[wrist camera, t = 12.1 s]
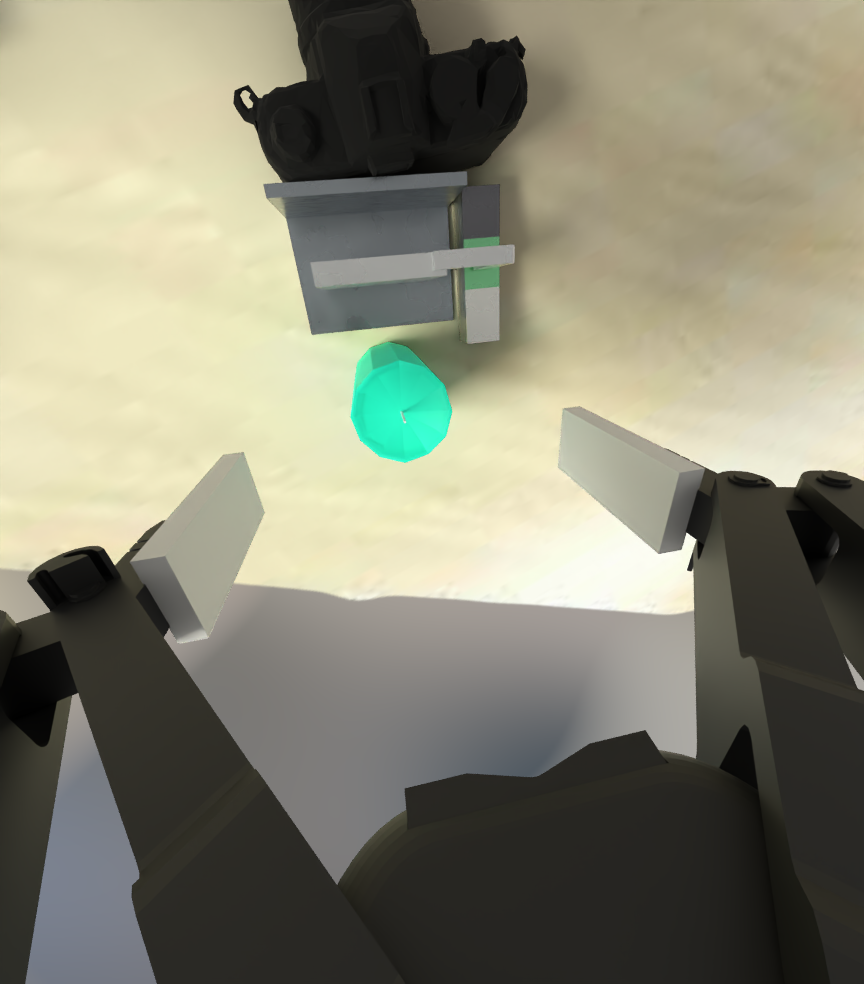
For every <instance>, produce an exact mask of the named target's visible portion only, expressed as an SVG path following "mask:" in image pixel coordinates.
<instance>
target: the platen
mask: <svg viewBox="0 0 864 984" xmlns="http://www.w3.org/2000/svg"><path fill="white" fill-rule="evenodd" d="M514 260H515V245H513V244H511V245H499V246H487V247H476V248H464V249H452V250H440V251H433V252H428V253H416V254H404V255H393V256H381V257H369V258H357V259H345V260H334V261H322V262H310V264H311V268H312V273H313V278H314V283H315V287H316V288H320V289H324V290H331V289H342V288H353V287H363V286H374V285H385V284H396V283H407V282H417V281H428V280H432V279H436V278H439V277H443V276H446V275H447V269H458V268H469V267H473V270H481V269H492V268H497V267H501V266H505V265H509V264H513V263H514Z"/></svg>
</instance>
